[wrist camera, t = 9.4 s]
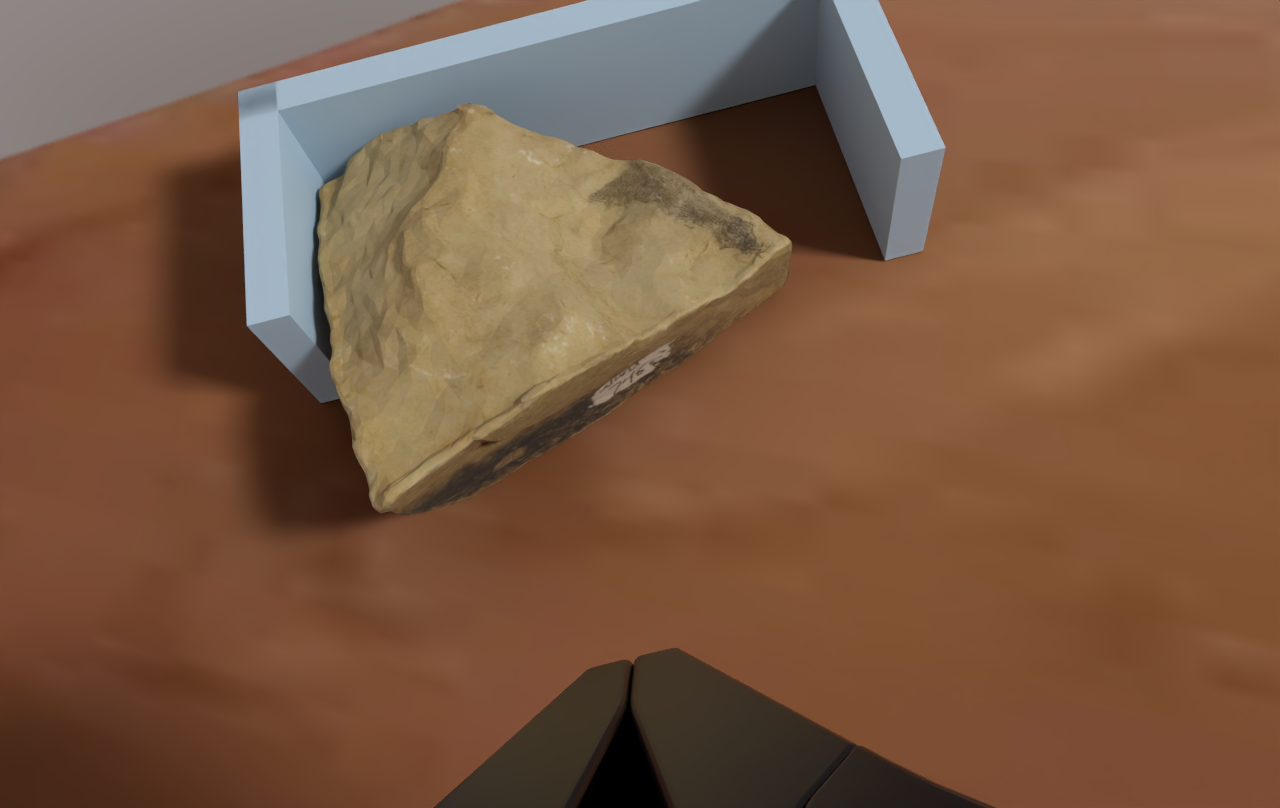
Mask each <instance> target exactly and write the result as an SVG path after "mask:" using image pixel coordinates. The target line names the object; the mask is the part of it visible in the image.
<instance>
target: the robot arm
mask: <svg viewBox="0 0 1280 808" xmlns="http://www.w3.org/2000/svg"><path fill="white" fill-rule="evenodd" d="M434 808H995V807H993V806H991V805H988V804H986V803H983V802H981V801H978V800H976V799H974V798H971V797H969V796H966V795H964V794H961V793H959V792H957V791H954V790H952V789H949V788H947V787H944V786H942V785H939V784H937V783H935V782H933V781H931V780H929V779H927V778H925V777H923V776H921V775H919V774H916V773H914V772H912V771H910V770H908V769H906V768H904V767H902V766H900V765H898V764H896V763H894V762H892V761H890V760H888V759H886V758H884V757H882V756H880V755H879V754H877V753H875V752H873V751H871V750H869V749H867V748H866V747H863V746H858V745H856V744H855V743H853V742H851V741H849V740H847V739H845V738H843V737H842V736H840V735H838V734H836V733H834V732H832V731H830V730H829V729H827V728H825V727H823V726H821V725H819V724H818V723H816V722H814V721H812V720H810V719H808V718H806V717H805V716H803V715H801V714H799V713H797V712H795V711H793V710H792V709H790V708H788V707H786V706H784V705H782V704H780V703H779V702H777V701H775V700H773V699H771V698H769V697H767V696H766V695H764V694H762V693H760V692H758V691H756V690H754V689H753V688H751V687H749V686H747V685H745V684H743V683H741V682H740V681H738V680H736V679H734V678H732V677H730V676H728V675H727V674H725V673H723V672H721V671H719V670H717V669H715V668H714V667H712V666H710V665H708V664H706V663H704V662H703V661H701V660H699V659H697V658H695V657H693V656H691V655H690V654H688V653H686V652H684V651H682V650H680V649H677V648H671V649H667V650H662V651H658V652H654V653H650V654H646V655H641V656H639V657H637V659H636V660H635V662H634V665H633V664H632V663H631V662H630V661H629V660H621V661H617V662H613V663H609V664H605V665H601V666H597V667H593V668H590V669H588V670H587V671H586V672H584V673H583V674H582V675H581V676H580V677H579V678H578V679H577V680H576V681H574V682H573V683H572V684H571V685H570V686H569V687H568V688H567V689H566V690H564V691H563V692H562V693H561V694H560V695H559V696H558V697H557V698H555V699H554V700H553V701H552V702H551V703H550V704H549V705H548V706H547V707H545V708H544V709H543V710H542V711H541V712H540V713H539V714H538V715H536V716H535V717H534V718H533V719H532V720H531V721H530V722H529V723H528V724H526V725H525V726H524V727H523V728H522V729H521V730H520V731H519V732H518V733H516V734H515V735H514V736H513V737H512V738H511V739H510V740H509V741H507V742H506V743H505V744H504V745H503V746H502V747H501V748H500V749H499V750H497V751H496V752H495V753H494V754H493V755H492V756H491V757H490V758H489V759H487V760H486V761H485V762H484V763H483V764H482V765H481V766H480V767H478V768H477V769H476V770H475V771H474V772H473V773H472V774H471V775H470V776H468V777H467V778H466V779H465V780H464V781H463V782H462V783H461V784H460V785H458V786H457V787H456V788H455V789H454V790H453V791H452V792H451V793H449V794H448V795H447V796H446V797H445V798H444V799H443V800H442V801H441V802H439V803H438V804H437V805H436V806H435V807H434Z"/></svg>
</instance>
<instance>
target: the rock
mask: <svg viewBox="0 0 1280 808" xmlns="http://www.w3.org/2000/svg"><path fill="white" fill-rule="evenodd" d="M319 198H320V205H321V209H320V220H319V223H318V226H317V234H318V237H319V249H318V259H317V260H318V264H319V274H320V278H321V282H322V286H323V291H324V310H325V313H326V316H327V319H328V321H329V324H330V329H331V334H330V343H331V347H332V357H331V360H330V363H329V369H330V373H331V377H332V380H333V383H334V385H335V389H336V392H337V394H338V396H339V399H340V401H341V403H342V405H343V408H344V410H345V411H346V413H347V414H348V416H349V420H350V426H351V434H352V448H353V450H354V453H355V456H356V458H357V460H358V462H359V463H360V465H361V467H362V469H363V470H364V472H365V475H366V478H367V482H368V486H369V498H370V501H371V504H372V506H373V508H374V509H375V510H376V511H378V512H379V513H380V514H381V513H385V512H390V511H391V512H393V513H395V514H402V515H410V514H417V513H422V512H426V511H430V510H432V509H434V508H437V507H443V506H445V505H447V504H454V503H456V502H459V501H461V500H467V499H470V498H472V497H474V496H475V495H477V494H478V493H479V492H481V491H483V490H485V489H486V488H488V487H490V486H491V485H493V484H495V483H497V482H499V481H501V480H503V479H504V478H506V477H507V476H508V475H510V474H511V473H513V472H515V471H516V470H518V469H519V468H520V467H521V466H523V465H524V464H525V463H527V462H528V461H530V460H532V459H534V458H536V457H538V456H540V455H542V454H544V453H546V452H547V451H549V450H551V449H553V448H554V447H556V446H558V445H559V444H561V443H563V442H564V441H566V440H568V439H569V438H571V437H573V436H575V435H576V434H578V433H580V432H581V431H582V430H584V429H585V428H586V427H587V426H589V425H591V424H593V423H595V422H596V421H598V420H600V419H601V418H603V417H604V416H606V415H608V414H609V413H610V412H612V411H613V410H614V409H616V408H617V407H619V406H620V405H621V404H623V403H624V402H625V401H626V400H627V399H628V398H629V397H630V396H632V395H633V394H635V393H636V392H638V391H639V390H640V389H642V388H644V387H645V386H647V385H648V384H650V383H651V382H653V381H654V380H655V379H657V378H658V377H659V376H661V375H662V374H664V373H666V372H668V371H670V370H672V369H674V368H677V367H678V366H679V365H680V364H682V363H683V362H684V361H685V360H687V359H688V358H689V357H691V356H692V355H693V354H694V353H696V352H697V351H698V350H700V349H701V348H702V347H704V346H705V345H707V344H708V343H709V342H711V341H712V340H713V339H714V338H715V337H716V336H717V335H718V334H719V333H721V332H722V331H723V330H725V329H726V328H728V327H729V326H730V325H731V324H732V323H734V322H735V321H736V320H738V319H739V318H741V317H743V316H745V315H746V314H747V313H749V312H750V311H751V310H753V309H754V308H756V307H757V306H758V305H760V304H761V303H762V302H764V301H765V300H766V299H767V298H769V297H770V296H771V295H772V294H774V293H775V292H776V291H777V290H779V289H780V288H781V287H782V286H783V285H784V284H785V282H786V279H787V277H788V274H789V262H790V257H791V252H792V242H791V241H790V240H789V239H788V238H787V237H786V236H784V235H782V234H779V233H777V232H776V231H775V230H773V229H772V228H771V227H769V226H768V225H767V224H766V223H764V222H763V221H762V219H761V218H760V217H759V216H757V215H755V214H754V213H752V212H750V211H748V210H746V209H743V208H740V207H737V206H735V205H733V204H731V203H728V202H724V201H722V200H721V199H720V198H718V197H717V196H715V195H712V194H709V193H707V192H704V191H703V190H701V189H700V188H699V187H698V186H696V185H695V184H694V183H693V182H691V181H690V180H688V179H686V178H685V177H683V176H681V175H679V174H677V173H675V172H673V171H671V170H669V169H667V168H665V167H662V166H660V165H658V164H655V163H651V162H648V161H644V160H639V159H634V160H629V161H628V160H613V159H610V158H607V157H604V156H602V155H600V154H598V153H596V152H594V151H592V150H589V149H585V148H580V147H576V146H575V145H573V144H571V143H569V142H567V141H564V140H562V139H559V138H555V137H552V136H544V135H541V134H539V133H536V132H533V131H530V130H527V129H524V128H522V127H520V126H517V125H515V124H512V123H510V122H509V121H507V120H505V119H503V118H502V117H500V116H498V115H496V114H495V112H494V111H492V110H490V109H489V108H487V107H485V106H482V105H477V104H472V103H468V104H460V105H459V106H457V109H455V110H454V111H451V112H448V113H445V114H442V115H439V116H436V117H427V118H421V119H420V120H418V121H417V122H416V123H414V124H413V125H411V126H403V127H400V128H396V129H394V130H392V131H390V132H387V133H383V134H381V135H379V136H377V137H375V138H374V139H372V140H371V141H369V142H368V143H367V144H366V145H365V146H363V147H362V148H361V149H360V150H359V151H358V152H357V153H356V154H354V155H353V156H352V157H351V158H350V159H349V160H348V161H347V165H346V169H345V173H344V174H343V175H342V176H341V177H339V178H336V179H334V180H332V181H329V182H327V183H326V184H324V185H323V186H322V187H321V188H320V190H319Z"/></svg>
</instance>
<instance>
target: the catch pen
mask: <svg viewBox="0 0 1280 808" xmlns="http://www.w3.org/2000/svg"><path fill="white" fill-rule="evenodd" d="M814 85H816V87H817V90H818V93H819V95H820V98H821V100H822V103H823V105H824V108H825V110H826V113H827V115H828V118H829V120H830V123H831V125H832V128H833V130H834V133H835V136H836V138H837V141H838V143H839V146H840V148H841V151H842V153H843V156H844V158H845V161H846V163H847V166H848V168H849V171H850V174H851V176H852V179H853V181H854V184H855V186H856V189H857V191H858V194H859V196H860V199H861V201H862V204H863V206H864V209H865V211H866V214H867V217H868V219H869V222H870V224H871V227H872V229H873V232H874V234H875V237H876V239H877V242H878V244H879V247H880V249H881V252H882V254H883V257H884V260H889V259H893V258H897V257H901V256H905V255H909V254H913V253H917V252H921V251H923V249H924V244H925V240H926V235H927V231H928V226H929V221H930V217H931V212H932V208H933V203H934V198H935V194H936V189H937V185H938V180H939V175H940V171H941V166H942V162H943V157H944V152H945V145H944V143H943V141H942V139H941V137H940V135H939V132H938V130H937V128H936V126H935V124H934V121H933V119H932V117H931V115H930V113H929V111H928V108H927V106H926V104H925V102H924V100H923V97H922V95H921V93H920V91H919V89H918V86H917V84H916V82H915V80H914V78H913V76H912V73H911V71H910V69H909V67H908V65H907V62H906V60H905V58H904V56H903V54H902V52H901V49H900V47H899V45H898V43H897V41H896V38H895V36H894V34H893V32H892V30H891V28H890V25H889V23H888V21H887V19H886V17H885V14H884V12H883V10H882V8H881V6H880V4H879V1H878V0H588V1H584V2H580V3H576V4H572V5H568V6H565V7H561V8H557V9H553V10H549V11H545V12H542V13H538V14H534V15H530V16H526V17H522V18H519V19H515V20H511V21H507V22H503V23H499V24H496V25H492V26H488V27H484V28H480V29H476V30H473V31H469V32H465V33H461V34H457V35H453V36H450V37H446V38H442V39H438V40H434V41H430V42H427V43H423V44H419V45H415V46H411V47H407V48H404V49H400V50H396V51H392V52H388V53H385V54H381V55H377V56H373V57H369V58H365V59H362V60H358V61H354V62H350V63H346V64H342V65H339V66H335V67H331V68H327V69H323V70H319V71H316V72H312V73H308V74H304V75H300V76H296V77H293V78H289V79H285V80H281V81H277V82H273V83H270V84H266V85H262V86H258V87H254V88H250V89H247V90H243V91H239V92H238V99H239V127H240V154H241V181H242V209H243V236H244V263H245V291H246V318H247V327H248V328H249V329H250V330H251V331H252V332H253V333H254V334H255V335H256V336H257V337H258V338H259V339H260V340H261V341H262V342H263V343H264V345H265V346H266V347H267V348H268V349H269V350H270V351H271V352H272V353H273V354H274V355H275V356H276V357H277V358H278V359H279V360H280V361H281V362H282V363H283V364H284V365H285V366H286V367H287V368H288V370H289V371H290V372H291V373H292V374H293V375H294V376H295V377H296V378H297V379H298V380H299V381H300V382H301V383H302V384H303V385H304V386H305V387H306V388H307V389H308V390H309V391H310V392H311V394H312V395H313V396H314V397H315V398H316V399H317V400H318V401H319V402H320V403H324V402H328V401H332V400H336V399H339V396H338V394H337V392H336V389H335V385H334V383H333V380H332V377H331V373H330V369H329V363H330V360H331V357H332V347H331V343H330V334H331V329H330V324H329V321H328V319H327V316H326V313H325V310H324V291H323V286H322V282H321V278H320V274H319V264H318V260H317V259H318V249H319V237H318V234H317V226H318V223H319V220H320V209H321V205H320V198H319V190H320V188H321V187H322V186H323V185H324V184H326V183H327V182H329V181H332V180H334V179H336V178H339V177H341V176H342V175H343V174H344V173H345V169H346V165H347V161H348V160H349V159H350V158H351V157H352V156H353V155H354V154H356V153H357V152H358V151H359V150H360V149H361V148H362V147H363V146H365V145H366V144H367V143H368V142H369V141H371V140H372V139H374V138H375V137H377V136H379V135H381V134H383V133H387V132H390V131H392V130H394V129H396V128H400V127H403V126H411V125H413V124H414V123H416V122H417V121H418V120H420V119H421V118H427V117H436V116H439V115H442V114H445V113H448V112H451V111H454V110H455V109H457V106H459V105H460V104H468V103H472V104H477V105H482V106H485V107H487V108H489V109H490V110H492V111H494V112H495V114H496V115H498V116H500V117H502V118H503V119H505V120H507V121H509V122H510V123H512V124H515V125H517V126H520V127H522V128H524V129H527V130H530V131H533V132H536V133H539V134H541V135H544V136H552V137H555V138H559V139H562V140H564V141H567V142H569V143H571V144H573V145H575V146H576V147H577V146H581V145H585V144H588V143H592V142H596V141H600V140H604V139H608V138H612V137H616V136H619V135H623V134H627V133H631V132H635V131H639V130H643V129H647V128H651V127H654V126H658V125H662V124H666V123H670V122H674V121H678V120H682V119H685V118H689V117H693V116H697V115H701V114H705V113H709V112H713V111H717V110H720V109H724V108H728V107H732V106H736V105H740V104H744V103H748V102H751V101H755V100H759V99H763V98H767V97H771V96H775V95H779V94H783V93H786V92H790V91H794V90H798V89H802V88H806V87H810V86H814Z"/></svg>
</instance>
